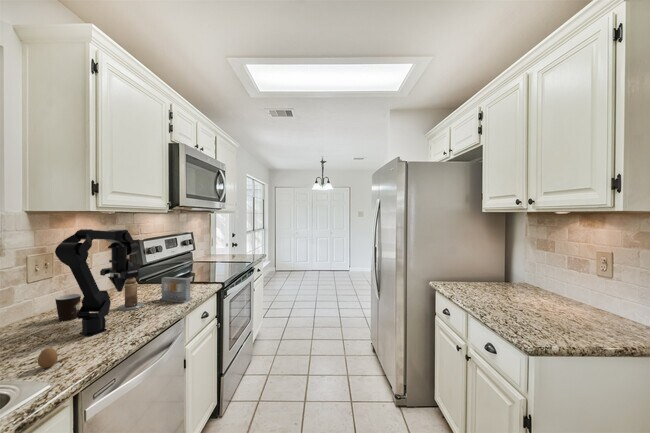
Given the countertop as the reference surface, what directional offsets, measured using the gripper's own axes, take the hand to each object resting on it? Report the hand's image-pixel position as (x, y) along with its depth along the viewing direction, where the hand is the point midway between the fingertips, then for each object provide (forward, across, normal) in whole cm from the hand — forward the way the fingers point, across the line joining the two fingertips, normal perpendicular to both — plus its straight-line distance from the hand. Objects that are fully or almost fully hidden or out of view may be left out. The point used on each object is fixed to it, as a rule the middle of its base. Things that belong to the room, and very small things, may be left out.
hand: (119, 291), depth 129 cm
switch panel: (+12, 0, -29) cm, 31 cm away
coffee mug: (+12, +21, +8) cm, 25 cm away
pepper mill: (+12, +11, -12) cm, 20 cm away
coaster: (+12, +11, -12) cm, 20 cm away
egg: (+12, -23, +35) cm, 43 cm away
